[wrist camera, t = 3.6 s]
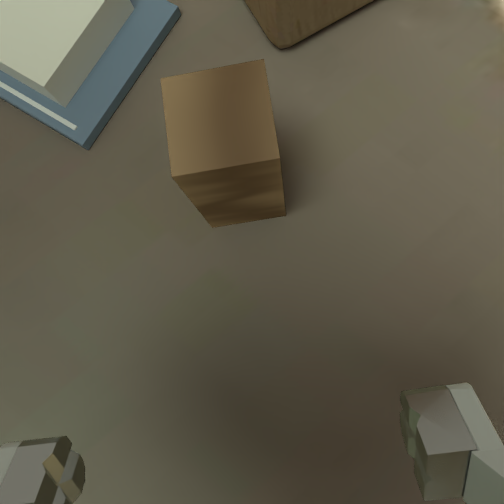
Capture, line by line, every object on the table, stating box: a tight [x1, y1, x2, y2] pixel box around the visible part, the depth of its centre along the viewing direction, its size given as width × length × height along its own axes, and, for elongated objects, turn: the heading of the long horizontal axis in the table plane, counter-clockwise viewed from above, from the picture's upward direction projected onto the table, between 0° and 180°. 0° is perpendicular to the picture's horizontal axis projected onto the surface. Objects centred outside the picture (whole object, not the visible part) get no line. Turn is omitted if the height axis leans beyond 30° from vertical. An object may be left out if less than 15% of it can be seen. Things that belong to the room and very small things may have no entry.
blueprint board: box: [0, 0, 181, 150], centre depth 30 cm, size 13×11×1 cm
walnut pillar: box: [161, 59, 286, 228], centre depth 23 cm, size 4×4×9 cm
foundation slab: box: [0, 0, 134, 107], centre depth 29 cm, size 8×8×2 cm
